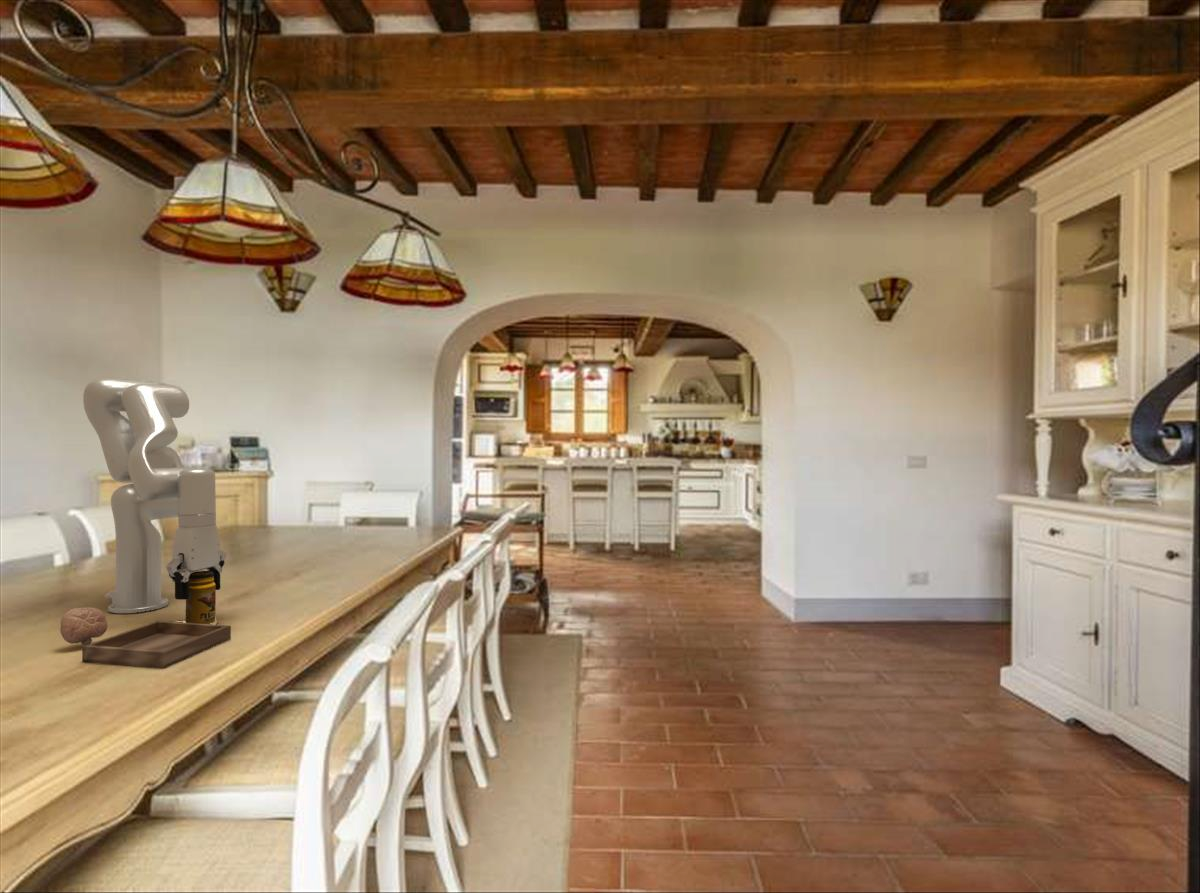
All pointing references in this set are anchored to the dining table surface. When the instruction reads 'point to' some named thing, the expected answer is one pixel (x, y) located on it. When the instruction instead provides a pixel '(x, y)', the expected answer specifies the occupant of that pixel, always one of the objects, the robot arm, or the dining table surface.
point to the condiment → (201, 598)
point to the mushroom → (83, 625)
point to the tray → (156, 644)
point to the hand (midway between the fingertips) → (198, 594)
